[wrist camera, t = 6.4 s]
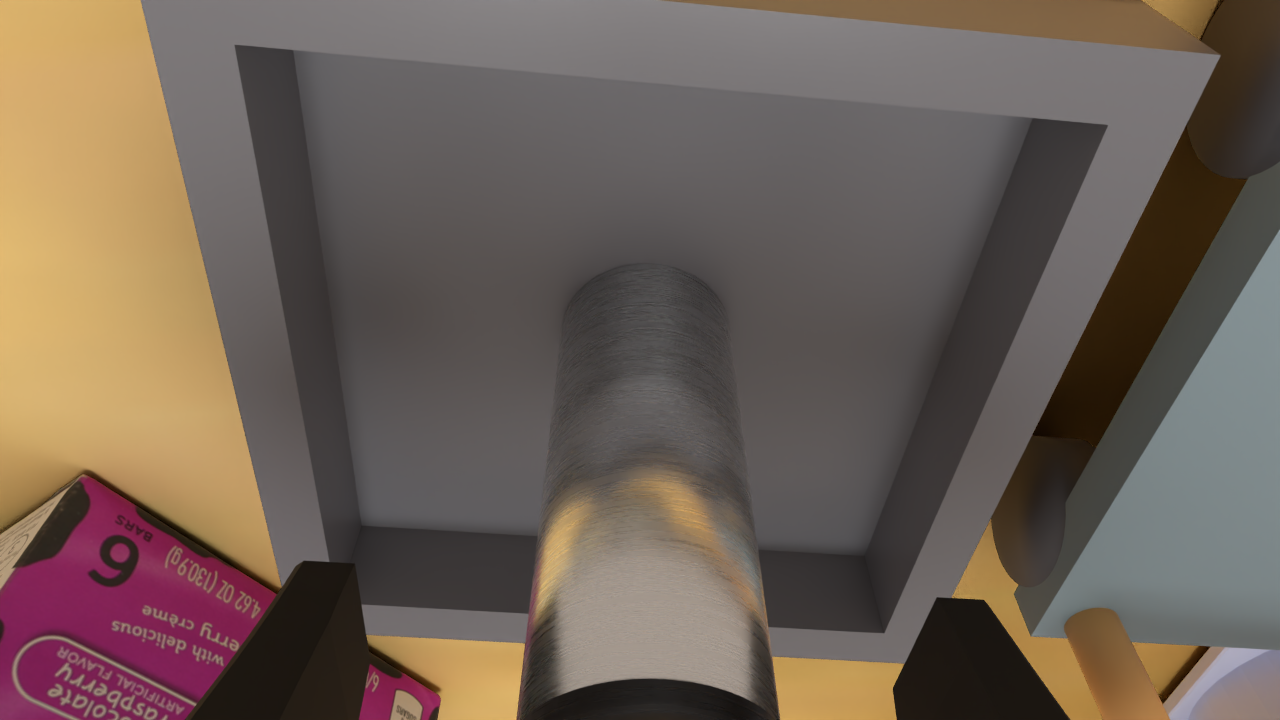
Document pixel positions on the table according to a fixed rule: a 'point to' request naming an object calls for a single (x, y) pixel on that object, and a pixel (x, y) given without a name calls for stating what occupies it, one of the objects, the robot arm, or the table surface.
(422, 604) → the tray
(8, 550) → the candy bar box
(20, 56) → the table surface
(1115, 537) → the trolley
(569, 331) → the pin
